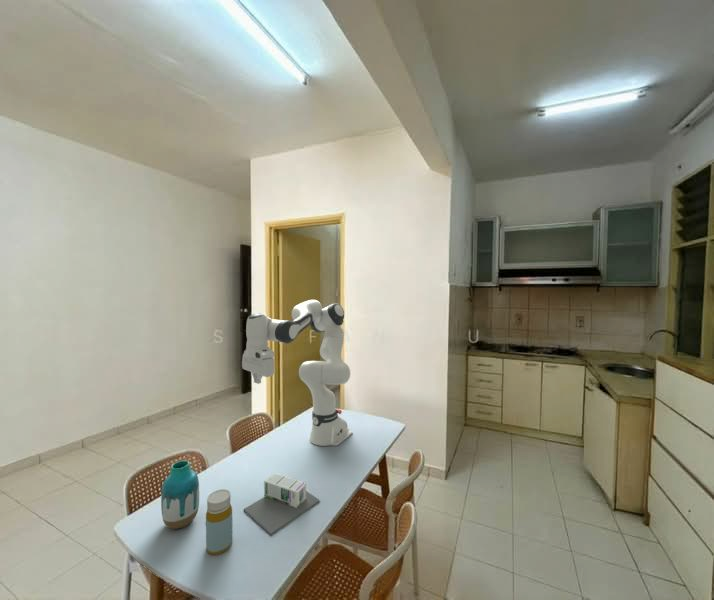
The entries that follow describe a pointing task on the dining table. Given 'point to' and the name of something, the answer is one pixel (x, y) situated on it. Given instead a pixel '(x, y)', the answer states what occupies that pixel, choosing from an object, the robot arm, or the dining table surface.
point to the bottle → (218, 522)
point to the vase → (180, 495)
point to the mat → (277, 512)
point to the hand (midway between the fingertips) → (257, 382)
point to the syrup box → (285, 490)
